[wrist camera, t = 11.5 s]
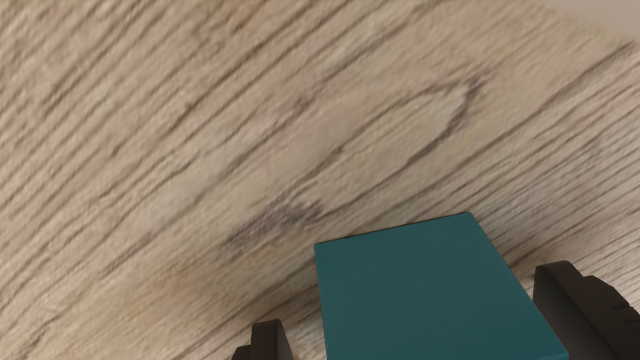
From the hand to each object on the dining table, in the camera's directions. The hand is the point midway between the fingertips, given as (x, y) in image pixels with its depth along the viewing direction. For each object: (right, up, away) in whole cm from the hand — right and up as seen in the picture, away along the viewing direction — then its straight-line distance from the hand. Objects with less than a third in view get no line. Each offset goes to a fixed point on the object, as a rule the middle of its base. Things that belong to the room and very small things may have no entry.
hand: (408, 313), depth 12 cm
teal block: (0, +1, +1) cm, 1 cm away
